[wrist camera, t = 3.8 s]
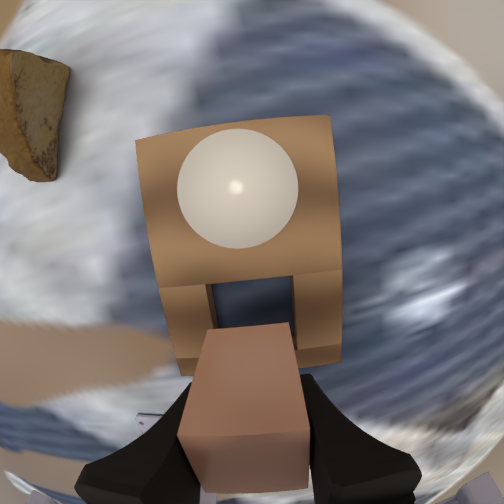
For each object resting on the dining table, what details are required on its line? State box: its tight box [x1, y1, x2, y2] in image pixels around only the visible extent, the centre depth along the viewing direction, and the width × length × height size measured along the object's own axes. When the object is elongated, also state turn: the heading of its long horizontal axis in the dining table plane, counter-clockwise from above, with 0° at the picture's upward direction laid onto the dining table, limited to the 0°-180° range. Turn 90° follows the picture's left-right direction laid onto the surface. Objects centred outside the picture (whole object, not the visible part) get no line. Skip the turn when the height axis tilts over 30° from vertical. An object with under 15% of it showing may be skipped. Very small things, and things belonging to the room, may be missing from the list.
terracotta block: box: [177, 322, 310, 493], centre depth 11 cm, size 4×4×7 cm
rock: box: [0, 49, 69, 182], centre depth 15 cm, size 11×9×10 cm
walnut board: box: [135, 115, 342, 376], centre depth 19 cm, size 17×12×2 cm
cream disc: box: [177, 129, 298, 249], centre depth 17 cm, size 7×7×1 cm
